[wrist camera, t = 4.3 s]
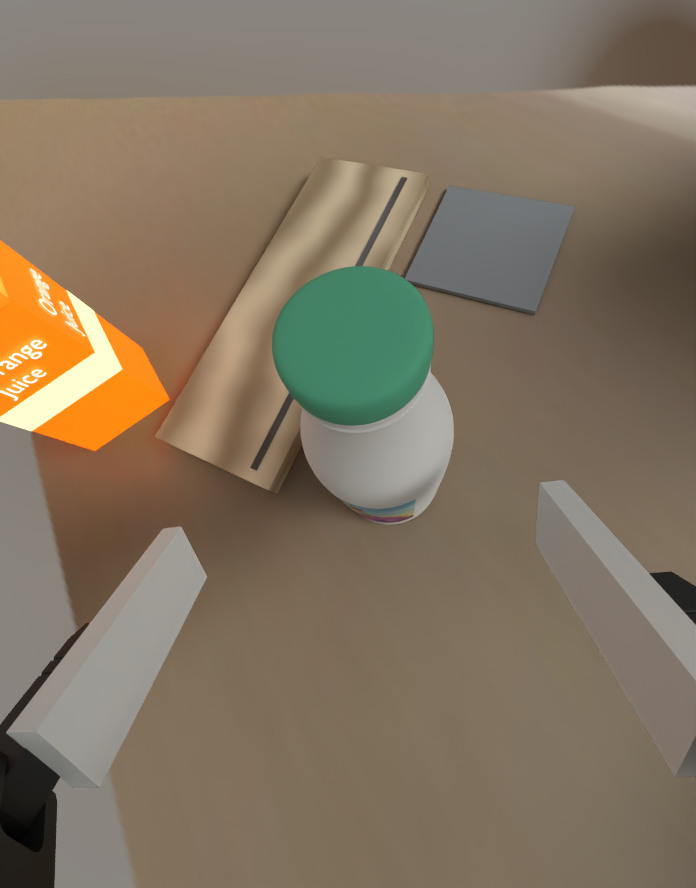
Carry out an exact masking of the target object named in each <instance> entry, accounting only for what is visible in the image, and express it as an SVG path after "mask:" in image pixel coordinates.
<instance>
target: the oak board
mask: <svg viewBox="0 0 696 888" xmlns="http://www.w3.org/2000/svg"><path fill="white" fill-rule="evenodd" d="M426 194H427V174H425V173H419V172H412V171H406V170H400V169H393V168H387V167H380V166H374V165H368V164H361V163H355V162H349V161H342V160H336V159H329V158H323V157H320V159H319V161H318V163H317V164H316V166H315V168H314V169H313V171H312V173H311V174H310V176H309V178H308V179H307V181H306V183H305V184H304V186H303V188H302V189H301V191H300V193H299V195H298V196H297V198H296V200H295V201H294V203H293V205H292V206H291V208H290V210H289V211H288V213H287V215H286V216H285V218H284V220H283V221H282V223H281V225H280V227H279V228H278V230H277V232H276V233H275V235H274V237H273V238H272V240H271V242H270V243H269V245H268V247H267V248H266V250H265V252H264V254H263V255H262V257H261V259H260V260H259V262H258V264H257V265H256V267H255V269H254V270H253V272H252V274H251V275H250V277H249V279H248V280H247V282H246V284H245V286H244V287H243V289H242V291H241V292H240V294H239V296H238V297H237V299H236V301H235V302H234V304H233V306H232V307H231V309H230V311H229V312H228V314H227V316H226V318H225V319H224V321H223V323H222V324H221V326H220V328H219V329H218V331H217V333H216V334H215V336H214V338H213V339H212V341H211V343H210V344H209V346H208V348H207V350H206V351H205V353H204V355H203V356H202V358H201V360H200V361H199V363H198V365H197V366H196V368H195V370H194V371H193V373H192V375H191V376H190V378H189V380H188V382H187V383H186V385H185V387H184V388H183V390H182V392H181V393H180V395H179V397H178V398H177V400H176V402H175V403H174V405H173V407H172V408H171V410H170V412H169V414H168V415H167V417H166V419H165V420H164V422H163V424H162V425H161V427H160V429H159V430H158V432H157V434H156V435H155V437H156V438H158V439H160V440H162V441H164V442H166V443H169V444H171V445H173V446H175V447H177V448H179V449H181V450H183V451H186V452H188V453H190V454H192V455H194V456H196V457H198V458H200V459H203V460H205V461H207V462H209V463H211V464H213V465H215V466H218V467H220V468H222V469H224V470H226V471H228V472H230V473H232V474H235V475H237V476H239V477H241V478H243V479H245V480H247V481H249V482H252V483H254V484H256V485H258V486H260V487H262V488H264V489H266V490H269V491H271V492H273V493H275V494H278V493H279V490H280V488H281V486H282V484H283V482H284V480H285V478H286V476H287V474H288V472H289V470H290V468H291V466H292V464H293V462H294V460H295V458H296V456H297V454H298V452H299V450H300V448H301V446H302V441H301V433H300V421H301V412H302V408H301V407H300V406H299V404H298V402H297V401H296V400H295V399H294V398H293V397H292V396H291V394H290V393H289V392H288V390H287V389H286V387H285V385H284V384H283V382H282V381H281V379H280V377H279V375H278V373H277V370H276V367H275V364H274V359H273V354H272V335H273V330H274V326H275V323H276V320H277V318H278V316H279V314H280V312H281V310H282V308H283V307H284V305H285V304H286V302H287V301H288V300H289V299H290V298H291V296H292V295H293V294H294V293H295V292H296V291H297V290H299V289H300V288H301V287H302V286H303V285H305V284H306V283H308V282H309V281H311V280H312V279H314V278H316V277H318V276H320V275H322V274H324V273H327V272H329V271H332V270H336V269H340V268H345V267H352V266H369V267H376V268H381V269H385V270H389V268H390V266H391V264H392V262H393V260H394V258H395V256H396V254H397V252H398V250H399V248H400V246H401V244H402V242H403V240H404V238H405V236H406V234H407V232H408V230H409V228H410V226H411V224H412V222H413V220H414V218H415V216H416V214H417V212H418V210H419V208H420V206H421V204H422V202H423V200H424V198H425V196H426Z"/></svg>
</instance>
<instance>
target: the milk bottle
mask: <svg viewBox="0 0 696 888" xmlns="http://www.w3.org/2000/svg"><path fill="white" fill-rule="evenodd" d="M433 341H434V330H433V322H432V318H431V315H430V312H429V309H428V307H427V304H426V302H425V300H424V299H423V297H422V296H421V294H420V293H419V291H418V290H417V289H416V288H415V287H414V286H413V285H412V284H411V283H410V282H408V281H407V280H406V279H404V278H402V277H401V276H399V275H397V274H395V273H393V272H390V271H388V270H385V269H381V268H376V267H369V266H352V267H345V268H340V269H336V270H332V271H329V272H327V273H324V274H322V275H320V276H318V277H316V278H314V279H312V280H311V281H309V282H308V283H306V284H305V285H303V286H302V287H301V288H300V289H299V290H297V291H296V292H295V293H294V294H293V295H292V296H291V298H290V299H289V300H288V301H287V302H286V304H285V305H284V307H283V308H282V310H281V312H280V314H279V316H278V318H277V320H276V323H275V326H274V330H273V335H272V354H273V359H274V364H275V367H276V370H277V373H278V375H279V377H280V379H281V381H282V382H283V384H284V385H285V387H286V389H287V390H288V392H289V393H290V394H291V396H292V397H293V398H294V399H295V400H296V401H297V402H298V404H299V406H300V407H301V408H302V412H301V421H300V433H301V441H302V445H303V450H304V453H305V456H306V458H307V461H308V463H309V465H310V467H311V469H312V470H313V472H314V474H315V475H316V477H317V478H318V480H319V481H320V482H321V483H322V484H323V485H324V486H325V487H326V488H327V489H328V490H329V491H330V492H331V493H332V494H333V495H334V496H335V497H336V498H338V499H339V500H340V501H341V502H343V503H344V504H345V505H347V506H348V507H349V508H351V509H352V510H353V511H355V512H356V513H357V514H359V515H360V516H362V517H364V518H365V519H368V520H370V521H372V522H375V523H379V524H386V525H393V524H400V523H404V522H407V521H409V520H412V519H414V518H415V517H417V516H418V515H420V514H421V513H422V512H423V511H424V510H425V509H426V508H427V507H428V506H429V504H430V503H431V501H432V500H433V498H434V496H435V494H436V492H437V490H438V488H439V485H440V483H441V481H442V478H443V476H444V473H445V471H446V468H447V466H448V463H449V459H450V455H451V452H452V447H453V440H454V423H453V415H452V411H451V407H450V404H449V401H448V399H447V396H446V394H445V392H444V390H443V389H442V387H441V385H440V384H439V382H438V381H437V379H436V378H435V377H434V376H433V375H432V374H431V372H430V370H431V360H432V355H433Z"/></svg>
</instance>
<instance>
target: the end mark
mask: <svg viewBox="0 0 696 888" xmlns="http://www.w3.org/2000/svg"><path fill="white" fill-rule="evenodd" d="M574 209H575V206H571V205H565V204H558V203H552V202H546V201H540V200H534V199H528V198H522V197H516V196H509V195H503V194H497V193H491V192H485V191H479V190H473V189H467V188H460V187H454V186H449V187H448V189H447V191H446V193H445V195H444V197H443V200H442V202H441V204H440V206H439V208H438V210H437V212H436V214H435V216H434V218H433V220H432V222H431V225H430V227H429V229H428V231H427V233H426V235H425V237H424V239H423V241H422V243H421V245H420V247H419V249H418V252H417V254H416V256H415V258H414V260H413V262H412V264H411V266H410V268H409V270H408V272H407V274H406V277H405V279H406V280H407V281H408V282H410V283H411V284H412V285H416V286H420V287H425V288H429V289H433V290H437V291H441V292H445V293H449V294H453V295H457V296H461V297H465V298H469V299H473V300H477V301H481V302H485V303H489V304H493V305H497V306H501V307H505V308H509V309H513V310H517V311H521V312H525V313H529V314H533V315H534V314H535V312H536V310H537V307H538V305H539V302H540V299H541V297H542V294H543V291H544V289H545V286H546V283H547V281H548V278H549V275H550V273H551V270H552V267H553V265H554V262H555V259H556V257H557V254H558V251H559V249H560V246H561V243H562V241H563V238H564V235H565V233H566V230H567V228H568V225H569V222H570V220H571V217H572V214H573V212H574Z"/></svg>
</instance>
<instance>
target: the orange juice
mask: <svg viewBox="0 0 696 888" xmlns="http://www.w3.org/2000/svg"><path fill="white" fill-rule="evenodd" d="M168 400H170V399H169V398H168V396H167V394H166V392H165V390H164V388H163V386H162V384H161V383H160V381H159V379H158V377H157V375H156V373H155V371H154V370H153V368H152V366H151V364H150V362H149V360H148V358H147V356H146V355H145V353H144V351H143V349H142V348H141V347H140V346H139V345H137V344H136V343H135V342H133V341H132V340H131V339H129V338H128V337H127V336H125V335H124V334H123V333H121V332H120V331H119V330H118V329H116V328H115V327H114V326H112V325H111V324H110V323H108V322H107V321H106V320H104V319H103V318H102V317H100V316H99V315H98V314H96V313H95V312H94V311H93V310H92V309H91V308H90V307H88V306H87V305H86V304H84V303H83V302H82V301H80V300H79V299H78V298H76V297H75V296H74V295H73V294H71V293H70V292H69V291H67V290H65V289H64V288H62V287H61V286H60V285H58V284H57V283H56V282H54V281H53V280H52V279H50V278H49V277H48V276H46V275H45V274H44V273H43V272H41V271H40V270H39V269H37V268H36V267H35V266H33V265H32V264H31V263H29V262H28V261H27V260H25V259H24V258H23V257H22V256H20V255H19V254H18V253H16V252H15V251H14V250H12V249H11V248H10V247H8V246H7V245H6V244H4V243H3V242H2V241H0V422H4V423H6V424H10V425H13V426H16V427H19V428H22V429H25V430H28V431H34V432H37V433H40V434H43V435H47V436H50V437H53V438H56V439H59V440H62V441H65V442H68V443H72V444H75V445H78V446H81V447H84V448H87V449H90V450H93V451H96V450H97V449H99V448H100V447H101V446H103V445H104V444H106V443H107V442H109V441H110V440H112V439H113V438H115V437H116V436H117V435H119V434H120V433H122V432H123V431H125V430H126V429H128V428H129V427H130V426H132V425H133V424H135V423H136V422H138V421H139V420H141V419H142V418H144V417H145V416H146V415H148V414H149V413H151V412H152V411H154V410H155V409H157V408H158V407H159V406H161V405H162V404H164V403H165V402H167V401H168Z"/></svg>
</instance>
